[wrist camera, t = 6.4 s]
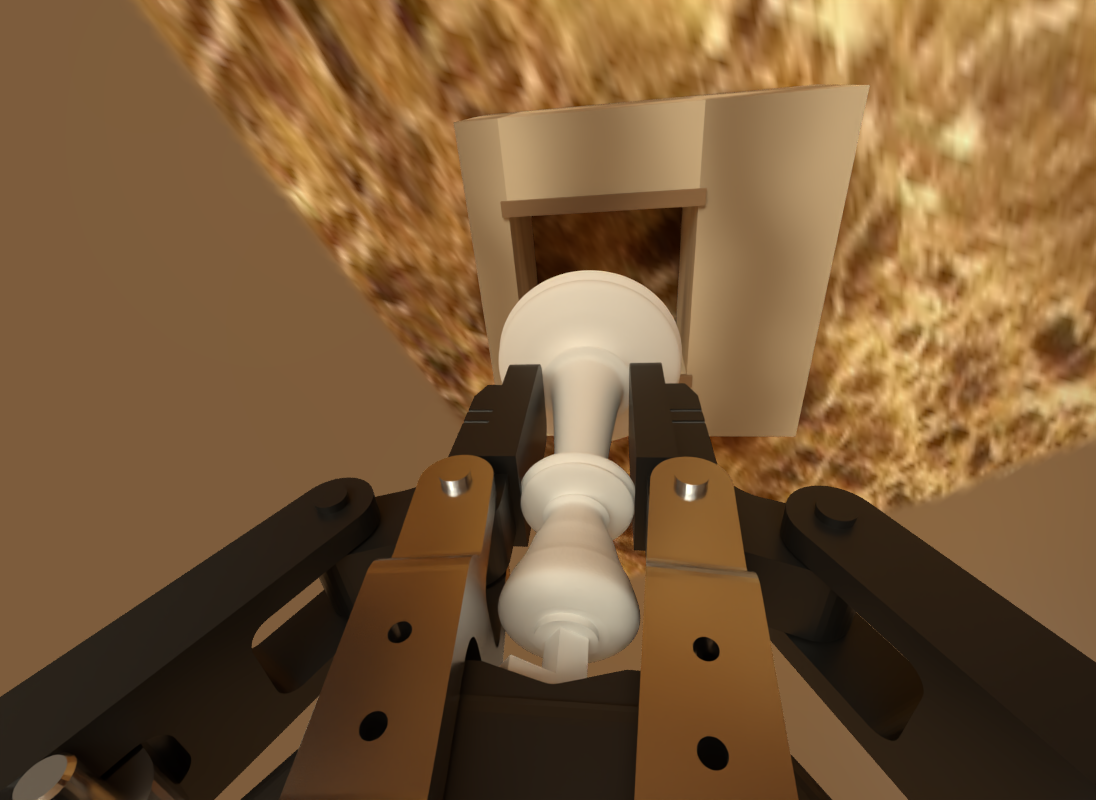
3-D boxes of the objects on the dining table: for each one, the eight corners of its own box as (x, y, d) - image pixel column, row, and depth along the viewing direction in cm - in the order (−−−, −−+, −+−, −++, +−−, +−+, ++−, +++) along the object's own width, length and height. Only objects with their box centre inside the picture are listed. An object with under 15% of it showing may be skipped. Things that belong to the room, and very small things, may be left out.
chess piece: (616, 457, 16) (623, 901, 7) (472, 383, 15) (283, 789, 6) (721, 330, 13) (922, 785, 5) (554, 232, 12) (424, 570, 4)
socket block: (816, 85, 18) (871, 85, 14) (767, 381, 24) (796, 438, 20) (485, 115, 20) (452, 122, 16) (520, 383, 26) (502, 437, 22)
